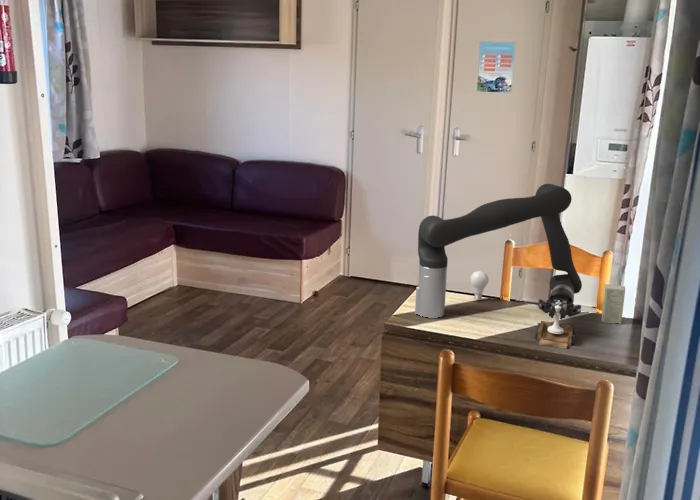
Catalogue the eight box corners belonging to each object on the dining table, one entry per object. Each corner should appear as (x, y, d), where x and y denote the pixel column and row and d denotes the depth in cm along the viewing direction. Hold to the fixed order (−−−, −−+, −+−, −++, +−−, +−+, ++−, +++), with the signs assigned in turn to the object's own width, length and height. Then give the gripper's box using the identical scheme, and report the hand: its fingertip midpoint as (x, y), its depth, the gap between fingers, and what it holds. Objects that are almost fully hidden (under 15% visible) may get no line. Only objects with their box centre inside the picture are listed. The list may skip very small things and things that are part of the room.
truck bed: (533, 343, 207) (533, 334, 206) (537, 329, 219) (538, 320, 218) (572, 349, 203) (573, 340, 202) (575, 334, 215) (576, 325, 214)
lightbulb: (488, 303, 242) (490, 273, 239) (470, 303, 242) (472, 273, 239) (485, 297, 248) (487, 268, 245) (467, 297, 248) (469, 268, 245)
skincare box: (620, 320, 229) (625, 285, 225) (621, 324, 225) (626, 289, 221) (600, 317, 231) (605, 283, 227) (601, 322, 226) (605, 287, 223)
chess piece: (565, 334, 209) (569, 303, 207) (549, 333, 210) (552, 303, 207) (561, 328, 214) (564, 298, 212) (545, 327, 214) (548, 297, 212)
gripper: (540, 284, 224) (534, 301, 209) (585, 290, 220) (582, 307, 204) (538, 306, 226) (532, 323, 211) (582, 312, 222) (579, 331, 206)
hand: (556, 315), depth 208 cm, fingers closed on chess piece
